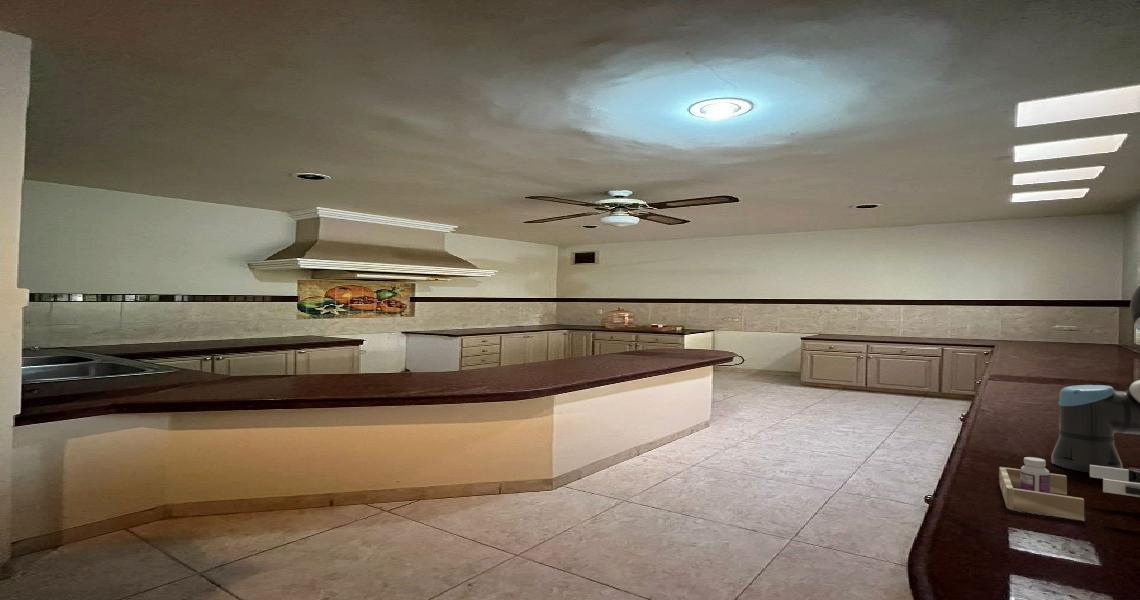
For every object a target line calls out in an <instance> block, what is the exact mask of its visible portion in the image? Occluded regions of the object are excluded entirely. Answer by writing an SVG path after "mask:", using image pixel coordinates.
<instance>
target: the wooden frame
mask: <svg viewBox="0 0 1140 600" xmlns="http://www.w3.org/2000/svg"><path fill="white" fill-rule="evenodd" d="M1020 469H1021V468H1020ZM1020 469H1018V468H1013V467H1012V468H1011V467H1005V466H999V472H998V477H999V480H998V481H999V487H1000V490H1001V494H1002V497H1003V500H1004V504H1005V507H1006V509H1010V510H1011V509H1012V510H1016V511H1021V512H1028V513H1036V514H1041V515H1047V516H1053V517H1059V518H1065V519H1071V520H1076V521H1077V520H1078V521H1083V522H1084V521H1085V499H1084V498H1083V497H1076V496H1070V495H1068V489H1067V488H1068V484H1067V483H1068V479H1067V478H1068V477H1067V475H1065V474H1059V473H1058V474H1057V473H1052V472H1051V473H1050V472H1049V473H1050V493H1043V492H1036V491H1030V490H1023V489H1021V481H1020Z"/></svg>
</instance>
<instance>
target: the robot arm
mask: <svg viewBox="0 0 1140 600" xmlns="http://www.w3.org/2000/svg"><path fill="white" fill-rule="evenodd" d="M1129 312H1130V313H1129V314H1130V318H1131V320H1132V323H1133V325H1134V327H1135V329H1136V330H1137V331H1139V332H1140V284H1139V285H1138V286H1137V288H1136V289H1135V291H1134V293H1132V296H1131V300H1130V305H1129ZM1057 403H1058V415H1059V416H1058V429H1059V430H1058V432H1059V433H1058V434H1059V435H1058V436H1059V437H1058V439H1057V442H1056V443H1055V447H1054V448H1053V450H1052V453H1051V463H1052V465H1054V464H1055V465H1054V466H1057V465H1058V466H1057V467H1060V466H1061V467H1060V468H1064V469H1068V470H1071V469H1072V470H1071V471H1077V472H1081V473H1082V472H1083V473H1089V477H1090V478H1094V479H1095V478H1096V479H1102V492H1103V493H1109V494H1116V495H1122V496H1130V497H1136V498H1140V468H1135V467H1129V468H1123V466H1124V465H1123V462H1122V461H1121V458H1120V455H1119V453H1118V451H1117V448H1116V445H1115V433H1116V434H1117V433H1118V434H1130V435H1131V434H1132V435H1140V379H1139V380H1138V379H1137V380H1136V381H1134V382H1132V383H1131V384H1130V385H1129V387H1128V389H1127V390H1126V391H1121V390H1119V391H1118V390H1115V389H1114V387H1113V386H1111V385H1103V384H1095V385H1094V384H1080V385H1079V384H1077V385H1070V386H1065V387H1063V388H1061V390H1059V397H1058V402H1057Z"/></svg>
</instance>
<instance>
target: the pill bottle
mask: <svg viewBox="0 0 1140 600" xmlns="http://www.w3.org/2000/svg"><path fill="white" fill-rule="evenodd" d="M1023 464H1024V465H1022V466H1021V468H1020V481H1021V488H1020V489H1023V490H1030V491H1036V492H1043V493H1050V494H1051V492H1050V471H1049V469H1047V468H1046V466H1047V461H1046V460H1045V459H1044V458H1040V457H1033V456H1026V457H1024V458H1023Z"/></svg>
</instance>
